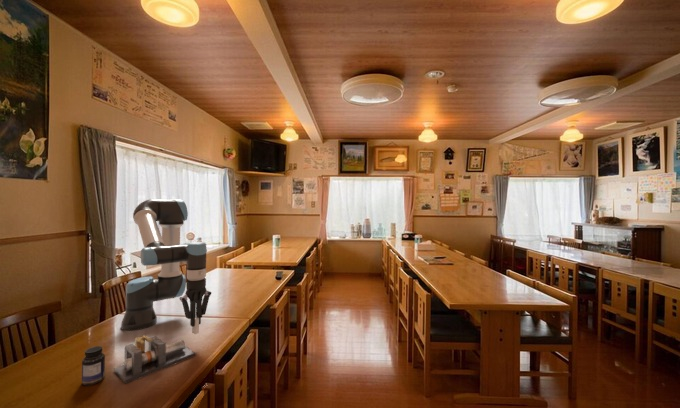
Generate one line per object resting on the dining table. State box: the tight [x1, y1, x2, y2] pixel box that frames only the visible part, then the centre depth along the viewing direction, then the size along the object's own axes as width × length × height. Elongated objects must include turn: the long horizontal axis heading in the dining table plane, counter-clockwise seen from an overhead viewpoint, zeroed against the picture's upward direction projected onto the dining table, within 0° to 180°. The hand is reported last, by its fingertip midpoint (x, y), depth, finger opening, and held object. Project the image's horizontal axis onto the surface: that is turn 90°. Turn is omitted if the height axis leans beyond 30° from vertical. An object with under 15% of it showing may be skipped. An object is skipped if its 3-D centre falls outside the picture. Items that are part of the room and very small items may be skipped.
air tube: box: [123, 339, 186, 371], centre depth 114 cm, size 20×4×4 cm, turn 143°
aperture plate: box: [134, 335, 151, 354], centre depth 112 cm, size 7×3×9 cm, turn 53°
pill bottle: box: [81, 345, 106, 386], centre depth 102 cm, size 6×6×11 cm
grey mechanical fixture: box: [113, 335, 196, 385], centre depth 114 cm, size 12×24×9 cm, turn 143°
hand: (195, 332), depth 126 cm, fingers closed
